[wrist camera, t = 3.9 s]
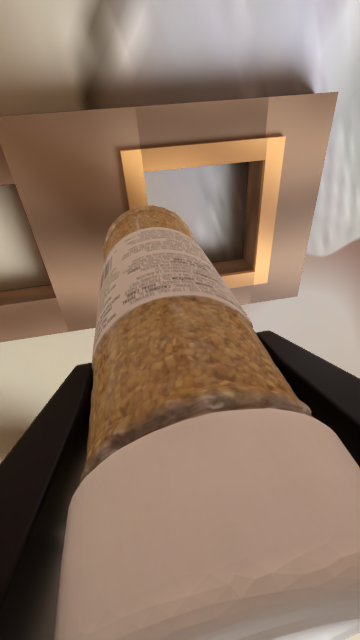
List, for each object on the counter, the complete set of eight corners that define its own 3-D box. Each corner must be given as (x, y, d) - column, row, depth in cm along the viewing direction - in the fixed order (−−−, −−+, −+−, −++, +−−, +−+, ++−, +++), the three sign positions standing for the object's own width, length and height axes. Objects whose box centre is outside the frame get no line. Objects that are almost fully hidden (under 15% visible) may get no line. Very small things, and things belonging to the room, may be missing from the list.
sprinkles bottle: (169, 301, 16) (277, 672, 5) (88, 272, 14) (-2, 747, 3) (210, 227, 14) (521, 577, 3) (123, 182, 12) (170, 632, 1)
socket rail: (284, 284, 23) (299, 298, 21) (-63, 335, 20) (-81, 357, 18) (315, 95, 16) (341, 91, 14) (-206, 133, 13) (-259, 134, 11)
